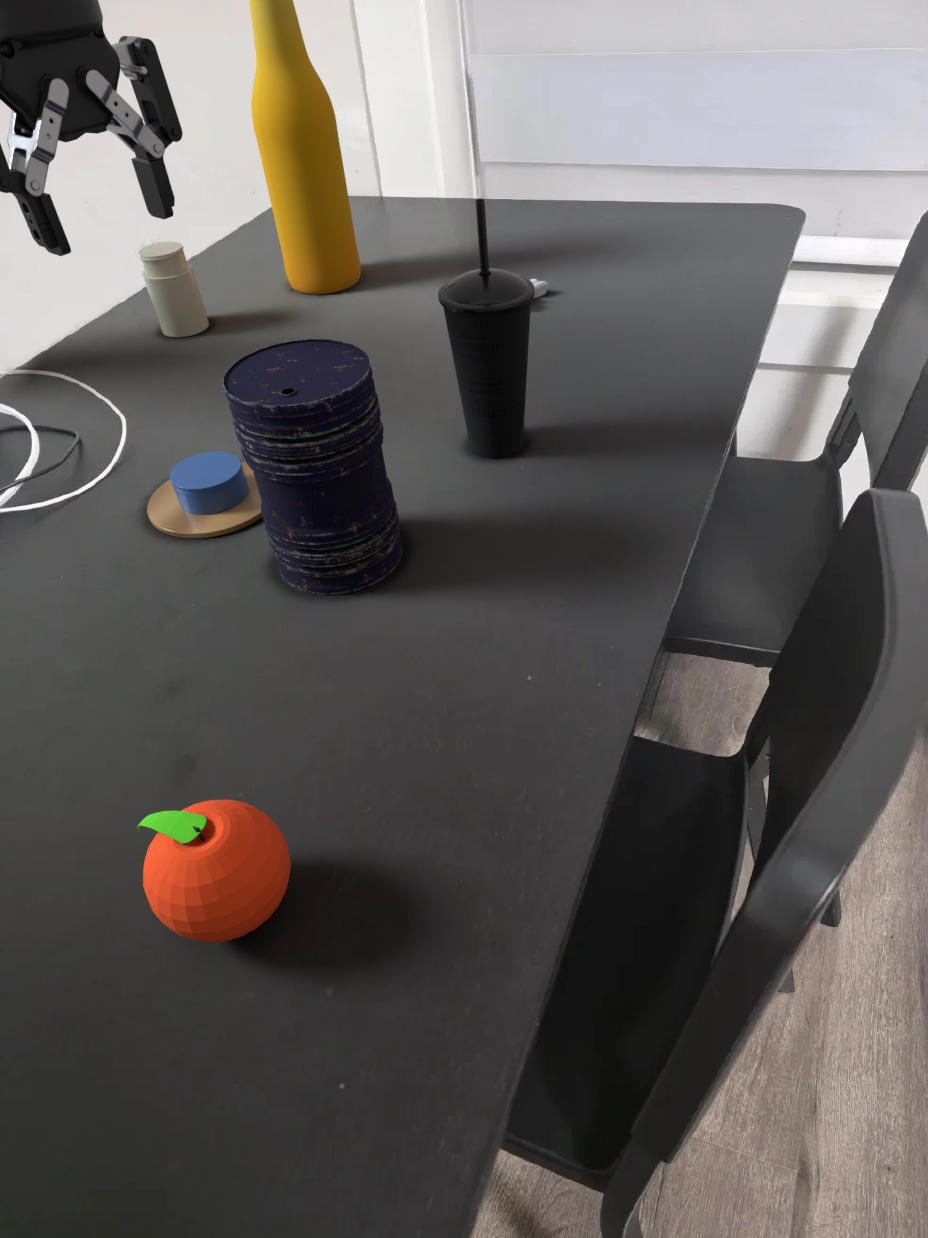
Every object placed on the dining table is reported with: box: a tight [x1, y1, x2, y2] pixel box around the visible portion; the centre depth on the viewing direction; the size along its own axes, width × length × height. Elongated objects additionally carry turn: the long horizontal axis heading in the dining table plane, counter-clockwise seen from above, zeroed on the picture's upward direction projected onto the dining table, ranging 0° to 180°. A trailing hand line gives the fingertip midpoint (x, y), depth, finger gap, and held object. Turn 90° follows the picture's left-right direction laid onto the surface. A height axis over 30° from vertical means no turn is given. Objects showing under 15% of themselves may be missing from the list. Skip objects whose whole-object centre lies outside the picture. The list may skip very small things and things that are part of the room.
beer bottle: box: [248, 0, 362, 295], centre depth 96 cm, size 9×9×29 cm
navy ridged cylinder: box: [222, 338, 403, 596], centre depth 60 cm, size 10×10×15 cm
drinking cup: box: [437, 198, 535, 459], centre depth 69 cm, size 8×8×20 cm
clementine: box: [136, 799, 291, 943], centre depth 42 cm, size 8×7×7 cm
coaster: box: [146, 461, 263, 539], centre depth 72 cm, size 11×11×1 cm
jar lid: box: [169, 450, 249, 515], centre depth 71 cm, size 6×6×2 cm
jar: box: [138, 240, 210, 338], centre depth 95 cm, size 5×5×9 cm
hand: (113, 233), depth 60 cm, fingers open, 8 cm apart
